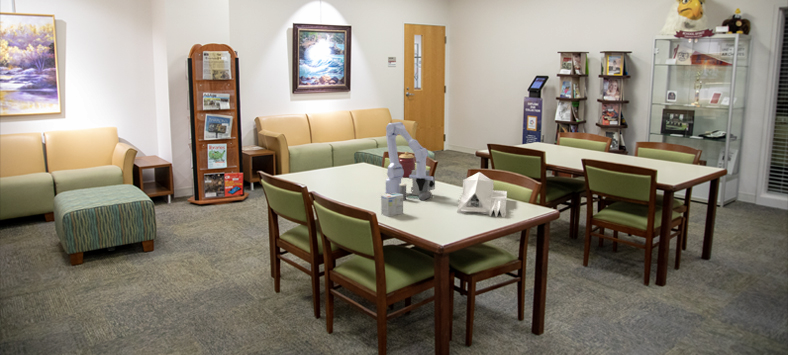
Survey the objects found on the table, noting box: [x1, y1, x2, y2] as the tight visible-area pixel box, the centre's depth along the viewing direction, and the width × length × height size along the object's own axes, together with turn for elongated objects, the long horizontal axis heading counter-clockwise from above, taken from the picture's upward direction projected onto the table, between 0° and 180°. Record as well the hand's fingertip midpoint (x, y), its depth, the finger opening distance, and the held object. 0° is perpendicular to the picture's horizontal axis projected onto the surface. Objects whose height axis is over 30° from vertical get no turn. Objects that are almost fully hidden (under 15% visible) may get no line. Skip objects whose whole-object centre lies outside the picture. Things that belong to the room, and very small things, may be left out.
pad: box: [406, 194, 420, 200], centre depth 347 cm, size 9×5×1 cm, turn 67°
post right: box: [418, 190, 433, 202], centre depth 342 cm, size 4×4×9 cm
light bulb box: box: [380, 193, 404, 218], centre depth 308 cm, size 11×7×11 cm, turn 128°
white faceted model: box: [456, 171, 508, 218], centre depth 323 cm, size 41×27×17 cm, turn 168°
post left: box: [399, 182, 407, 201], centre depth 340 cm, size 4×4×9 cm
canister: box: [398, 151, 416, 178], centre depth 409 cm, size 13×13×18 cm
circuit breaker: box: [410, 169, 436, 196], centre depth 351 cm, size 8×14×15 cm, turn 50°
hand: (420, 190), depth 344 cm, fingers closed
